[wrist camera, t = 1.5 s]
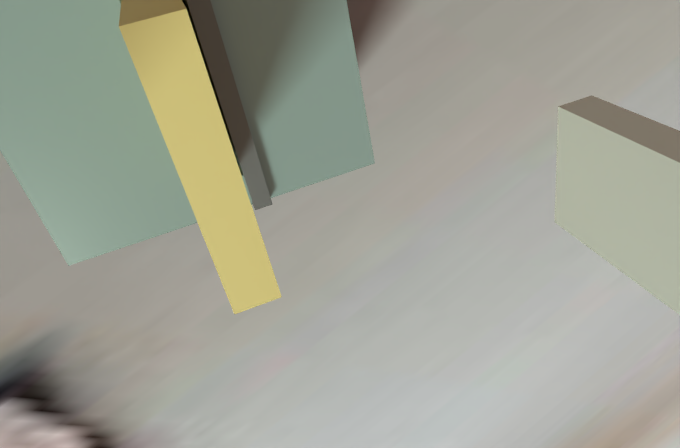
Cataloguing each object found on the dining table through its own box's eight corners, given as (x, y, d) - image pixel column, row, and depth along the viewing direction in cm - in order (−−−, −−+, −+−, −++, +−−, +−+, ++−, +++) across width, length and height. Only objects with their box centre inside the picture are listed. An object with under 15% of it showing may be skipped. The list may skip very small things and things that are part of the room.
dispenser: (82, 187, 30) (67, 273, 23) (-44, -54, 23) (-119, -38, 16) (324, 111, 32) (379, 168, 25) (273, -126, 26) (327, -139, 19)
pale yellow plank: (186, 128, 28) (234, 314, 15) (125, -37, 24) (119, 26, 11) (212, 120, 29) (281, 297, 16) (156, -45, 24) (186, 8, 11)
